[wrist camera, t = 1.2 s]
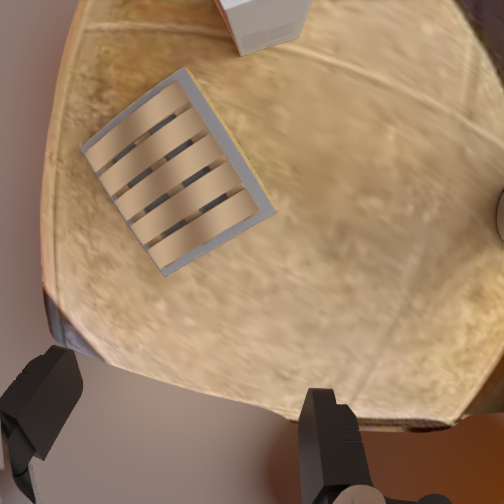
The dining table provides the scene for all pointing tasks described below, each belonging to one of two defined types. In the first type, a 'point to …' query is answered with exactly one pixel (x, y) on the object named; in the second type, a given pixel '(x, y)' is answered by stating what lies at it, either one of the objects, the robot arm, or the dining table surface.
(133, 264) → the dining table surface
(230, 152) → the rack
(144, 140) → the pallet
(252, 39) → the small box
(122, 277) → the dining table surface
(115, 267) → the dining table surface
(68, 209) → the dining table surface
